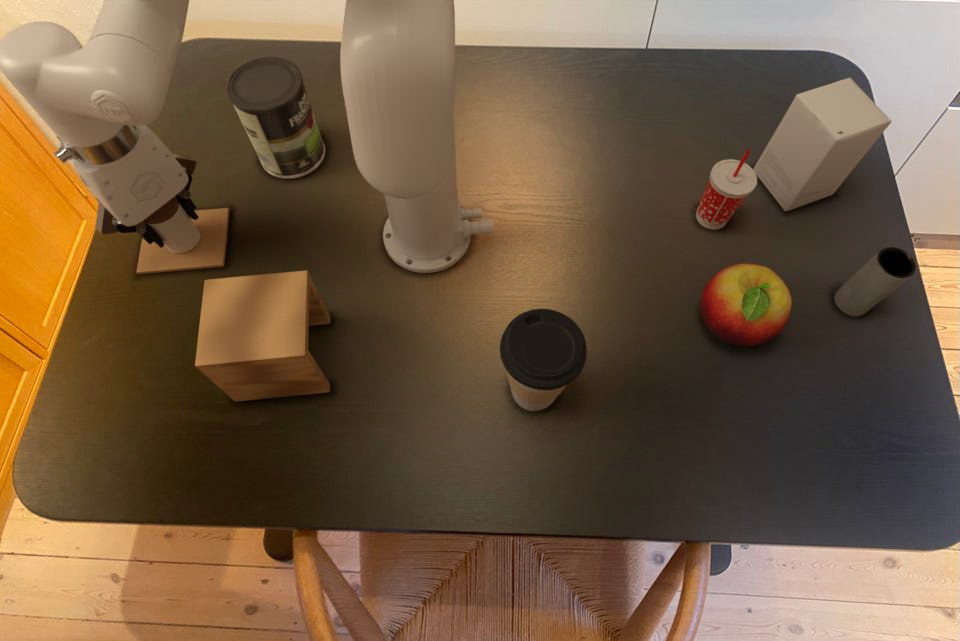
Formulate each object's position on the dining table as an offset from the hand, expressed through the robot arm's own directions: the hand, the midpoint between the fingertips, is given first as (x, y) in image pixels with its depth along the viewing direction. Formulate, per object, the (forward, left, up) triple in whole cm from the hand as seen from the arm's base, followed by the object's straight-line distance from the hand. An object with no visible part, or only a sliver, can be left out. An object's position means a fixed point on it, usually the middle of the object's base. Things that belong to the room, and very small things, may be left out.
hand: (173, 226), depth 84 cm
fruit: (-75, +21, -4) cm, 78 cm away
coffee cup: (-47, +28, -4) cm, 55 cm away
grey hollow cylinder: (-92, +20, -4) cm, 94 cm away
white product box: (-91, -1, -4) cm, 91 cm away
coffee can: (-15, -15, -4) cm, 22 cm away
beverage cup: (-77, +4, -4) cm, 77 cm away
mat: (0, 0, -4) cm, 4 cm away
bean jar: (0, 0, -3) cm, 3 cm away
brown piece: (-15, +20, -4) cm, 25 cm away
